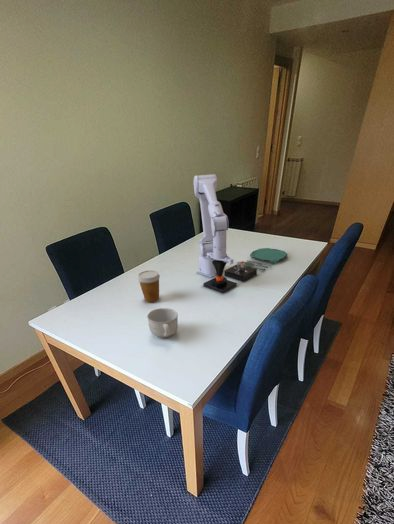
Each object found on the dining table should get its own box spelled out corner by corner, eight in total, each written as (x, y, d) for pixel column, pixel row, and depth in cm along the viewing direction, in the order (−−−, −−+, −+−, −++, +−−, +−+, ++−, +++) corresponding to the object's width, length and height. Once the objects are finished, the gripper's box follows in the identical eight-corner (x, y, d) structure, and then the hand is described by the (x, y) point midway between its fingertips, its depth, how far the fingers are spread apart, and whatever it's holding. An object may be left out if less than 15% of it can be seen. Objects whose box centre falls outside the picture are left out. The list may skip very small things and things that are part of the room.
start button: (214, 280, 136) (214, 276, 135) (219, 277, 138) (219, 274, 137) (220, 282, 134) (220, 278, 133) (225, 279, 136) (225, 276, 135)
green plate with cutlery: (292, 255, 165) (293, 251, 164) (267, 273, 147) (267, 269, 146) (261, 249, 176) (261, 245, 174) (234, 265, 157) (234, 261, 156)
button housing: (203, 286, 139) (203, 279, 137) (217, 279, 144) (217, 272, 142) (222, 293, 132) (222, 286, 130) (236, 286, 137) (236, 279, 135)
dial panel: (224, 276, 147) (224, 270, 146) (237, 269, 153) (237, 263, 152) (243, 282, 141) (243, 276, 139) (256, 274, 147) (257, 268, 145)
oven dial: (241, 271, 143) (241, 264, 141) (235, 269, 145) (235, 262, 143) (246, 269, 145) (246, 262, 143) (239, 267, 147) (240, 260, 145)
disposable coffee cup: (166, 295, 133) (163, 270, 126) (157, 305, 126) (153, 279, 119) (147, 293, 136) (143, 269, 128) (137, 303, 129) (132, 277, 121)
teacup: (151, 326, 113) (147, 308, 108) (178, 323, 113) (177, 305, 108) (149, 347, 102) (145, 328, 97) (180, 345, 102) (178, 325, 97)
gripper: (238, 247, 124) (237, 277, 133) (214, 240, 133) (214, 269, 141) (227, 251, 121) (227, 282, 129) (203, 244, 129) (204, 273, 138)
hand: (219, 275), depth 135 cm, fingers closed
